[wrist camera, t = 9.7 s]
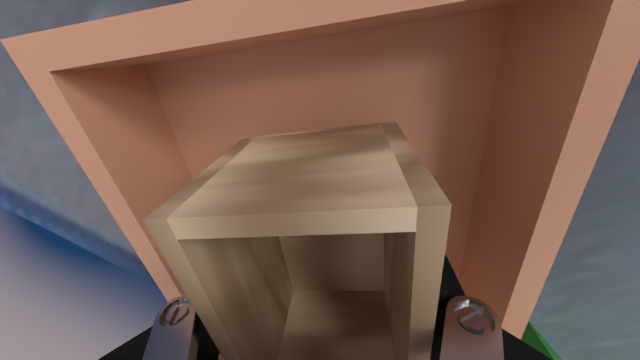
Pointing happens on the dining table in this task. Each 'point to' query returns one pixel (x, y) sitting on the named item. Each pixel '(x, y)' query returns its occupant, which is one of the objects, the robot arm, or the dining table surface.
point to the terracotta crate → (353, 107)
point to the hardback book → (538, 342)
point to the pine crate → (311, 246)
